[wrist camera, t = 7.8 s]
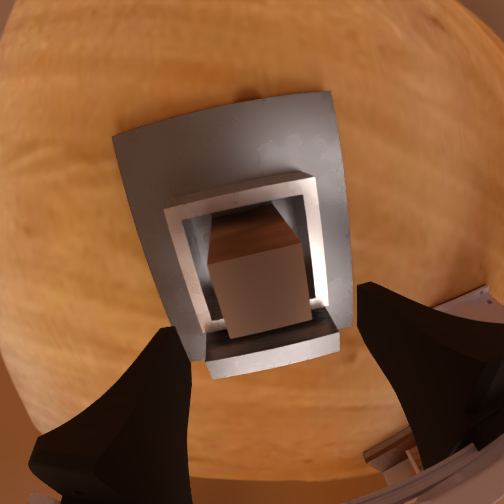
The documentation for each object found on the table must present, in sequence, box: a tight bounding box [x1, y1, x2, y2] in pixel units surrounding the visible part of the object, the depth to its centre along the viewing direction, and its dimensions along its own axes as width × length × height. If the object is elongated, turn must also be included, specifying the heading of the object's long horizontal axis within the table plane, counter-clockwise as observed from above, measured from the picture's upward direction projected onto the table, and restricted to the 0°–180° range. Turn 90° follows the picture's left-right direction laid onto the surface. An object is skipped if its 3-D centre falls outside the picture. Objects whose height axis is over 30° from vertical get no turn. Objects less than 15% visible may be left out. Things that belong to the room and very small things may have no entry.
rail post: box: [207, 205, 312, 339], centre depth 16 cm, size 4×4×7 cm
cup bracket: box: [112, 91, 353, 379], centre depth 18 cm, size 14×18×6 cm
